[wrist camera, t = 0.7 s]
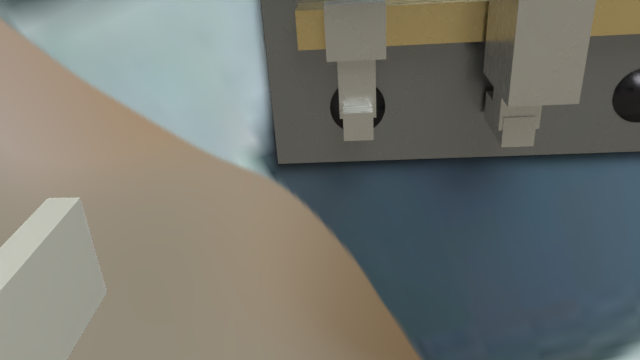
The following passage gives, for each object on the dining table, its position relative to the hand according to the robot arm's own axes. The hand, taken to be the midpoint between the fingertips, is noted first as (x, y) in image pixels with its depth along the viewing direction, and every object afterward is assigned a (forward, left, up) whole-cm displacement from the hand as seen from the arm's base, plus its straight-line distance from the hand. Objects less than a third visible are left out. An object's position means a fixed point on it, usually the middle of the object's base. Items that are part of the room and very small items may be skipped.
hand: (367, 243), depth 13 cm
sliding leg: (+1, +8, -20) cm, 21 cm away
